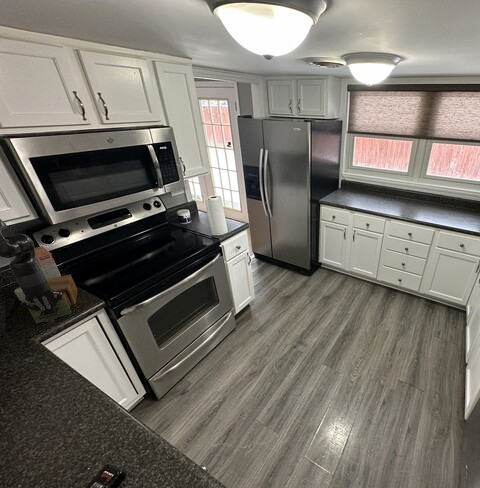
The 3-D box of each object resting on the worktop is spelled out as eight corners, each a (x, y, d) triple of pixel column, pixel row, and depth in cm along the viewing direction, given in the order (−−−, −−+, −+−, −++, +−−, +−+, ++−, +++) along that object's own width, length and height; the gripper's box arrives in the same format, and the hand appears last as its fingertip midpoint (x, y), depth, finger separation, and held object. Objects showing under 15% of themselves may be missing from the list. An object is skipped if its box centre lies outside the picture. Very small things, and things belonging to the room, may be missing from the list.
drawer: (70, 319, 117) (63, 305, 114) (34, 330, 111) (26, 316, 107) (73, 298, 130) (67, 285, 127) (41, 307, 124) (34, 293, 120)
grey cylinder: (18, 302, 127) (13, 293, 125) (20, 297, 131) (15, 288, 129) (33, 298, 130) (28, 289, 128) (35, 293, 134) (30, 284, 132)
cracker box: (67, 287, 139) (51, 252, 130) (52, 293, 135) (34, 257, 126) (59, 279, 146) (43, 245, 137) (44, 283, 142) (26, 249, 133)
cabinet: (75, 304, 128) (67, 287, 124) (39, 314, 121) (29, 297, 117) (77, 289, 138) (70, 274, 134) (44, 298, 131) (35, 282, 127)
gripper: (56, 272, 113) (71, 305, 120) (11, 282, 106) (30, 316, 113) (53, 280, 108) (70, 314, 115) (6, 291, 100) (27, 326, 108)
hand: (50, 315), depth 114 cm, fingers closed
